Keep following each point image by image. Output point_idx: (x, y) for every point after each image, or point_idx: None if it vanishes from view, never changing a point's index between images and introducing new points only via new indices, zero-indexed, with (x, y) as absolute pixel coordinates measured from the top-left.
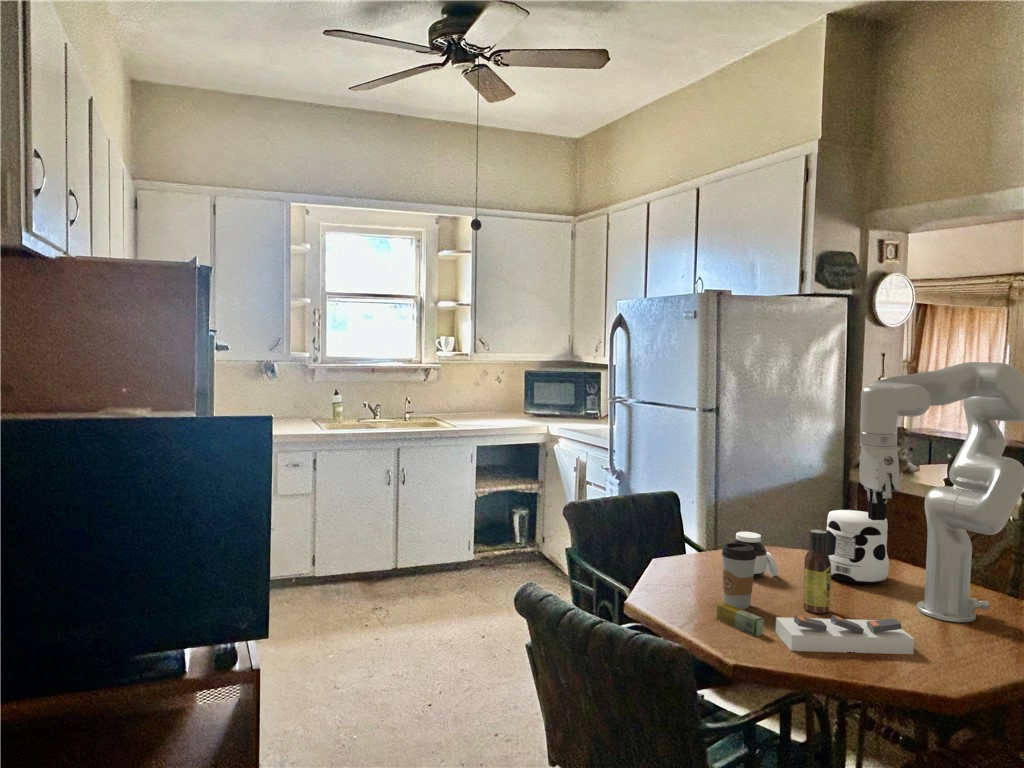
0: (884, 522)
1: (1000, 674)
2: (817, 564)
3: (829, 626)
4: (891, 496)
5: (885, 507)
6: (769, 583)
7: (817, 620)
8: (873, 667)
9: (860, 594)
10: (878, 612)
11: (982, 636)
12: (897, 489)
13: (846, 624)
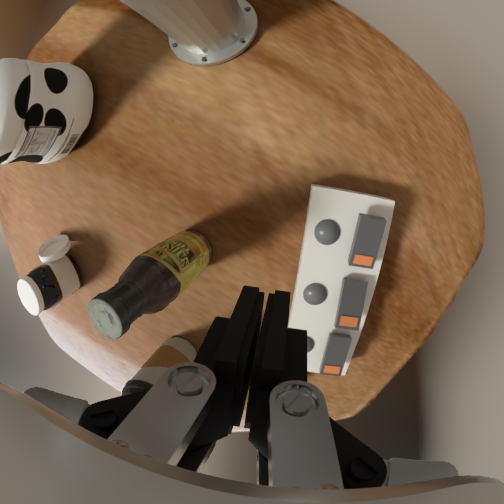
0: (10, 66)
1: (450, 118)
2: (170, 299)
3: (326, 314)
4: (456, 475)
5: (285, 342)
6: (91, 260)
7: (330, 343)
8: (410, 287)
9: (122, 130)
10: (201, 139)
11: (316, 29)
12: (499, 499)
13: (361, 313)
